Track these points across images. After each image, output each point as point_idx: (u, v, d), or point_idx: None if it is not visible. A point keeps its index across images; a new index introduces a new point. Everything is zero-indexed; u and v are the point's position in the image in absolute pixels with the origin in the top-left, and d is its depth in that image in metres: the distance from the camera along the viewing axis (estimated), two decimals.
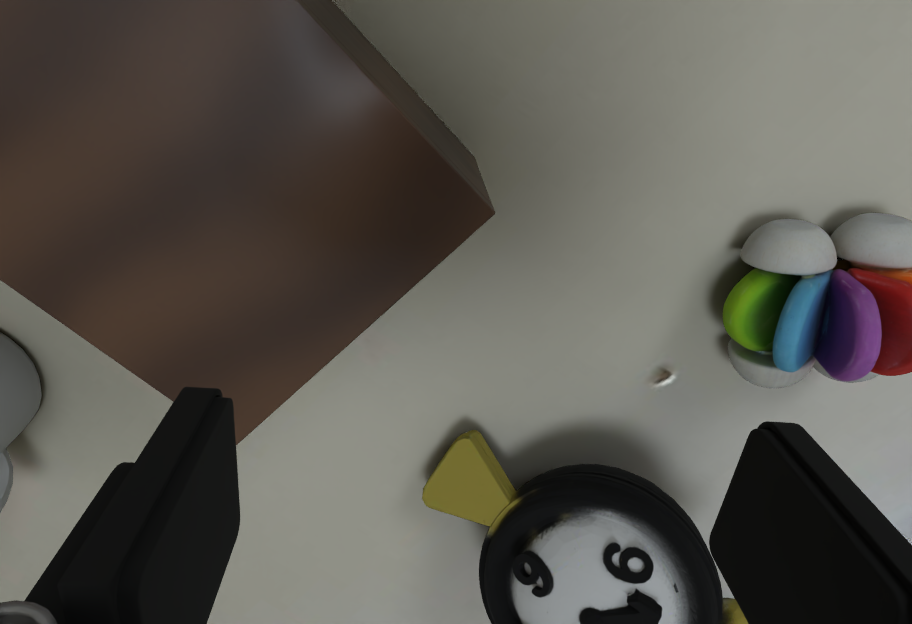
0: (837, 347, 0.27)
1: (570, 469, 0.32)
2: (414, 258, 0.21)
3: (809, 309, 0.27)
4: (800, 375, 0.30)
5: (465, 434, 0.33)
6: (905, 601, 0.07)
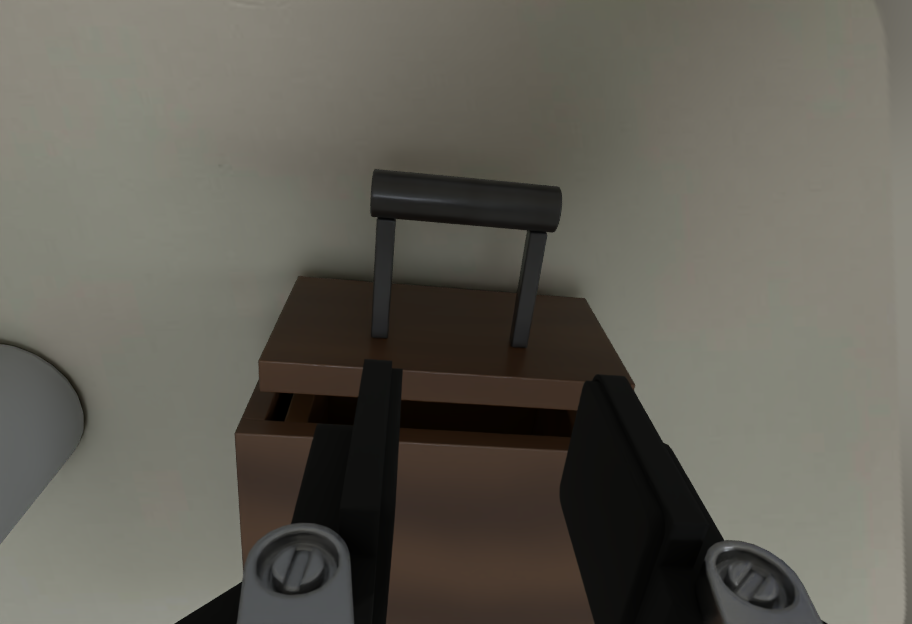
0: None
1: None
2: None
3: None
4: None
5: None
6: (657, 518, 0.08)
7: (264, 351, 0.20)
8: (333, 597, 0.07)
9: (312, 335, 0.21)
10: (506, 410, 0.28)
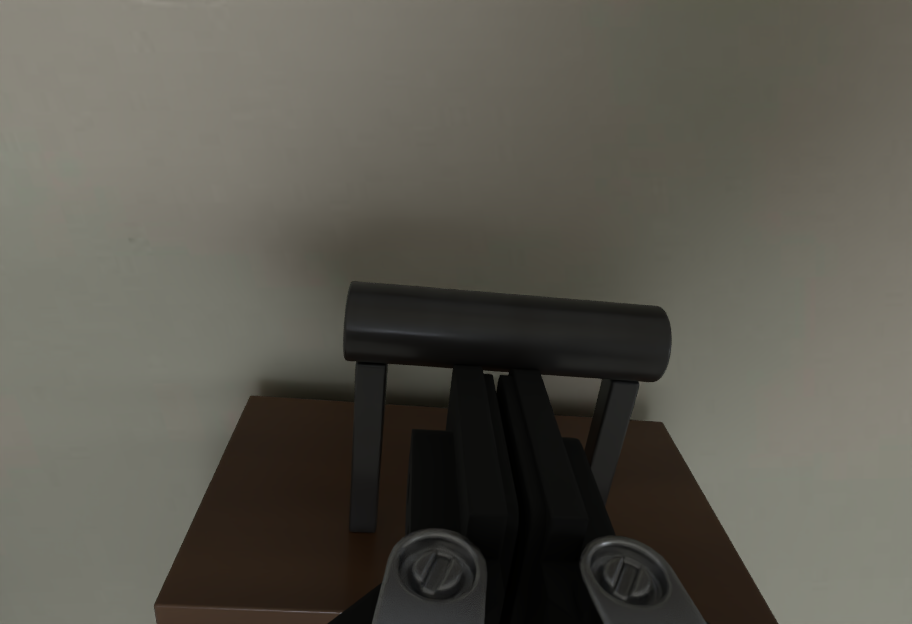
0: None
1: None
2: None
3: None
4: None
5: None
6: (540, 512, 0.08)
7: (168, 579, 0.12)
8: (466, 610, 0.07)
9: (255, 530, 0.13)
10: None
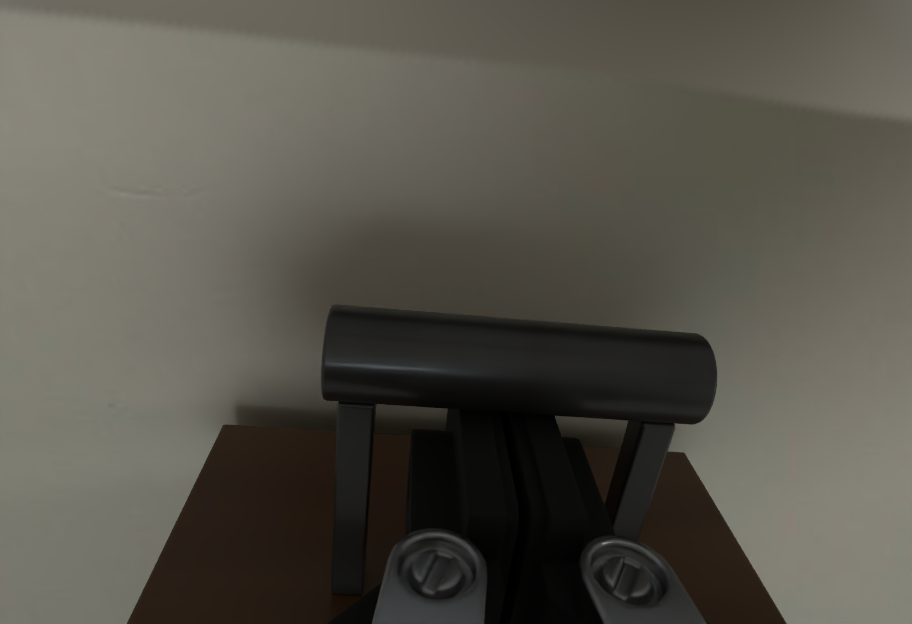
0: None
1: None
2: None
3: None
4: None
5: None
6: (540, 512, 0.08)
7: None
8: (466, 609, 0.07)
9: (220, 594, 0.11)
10: None
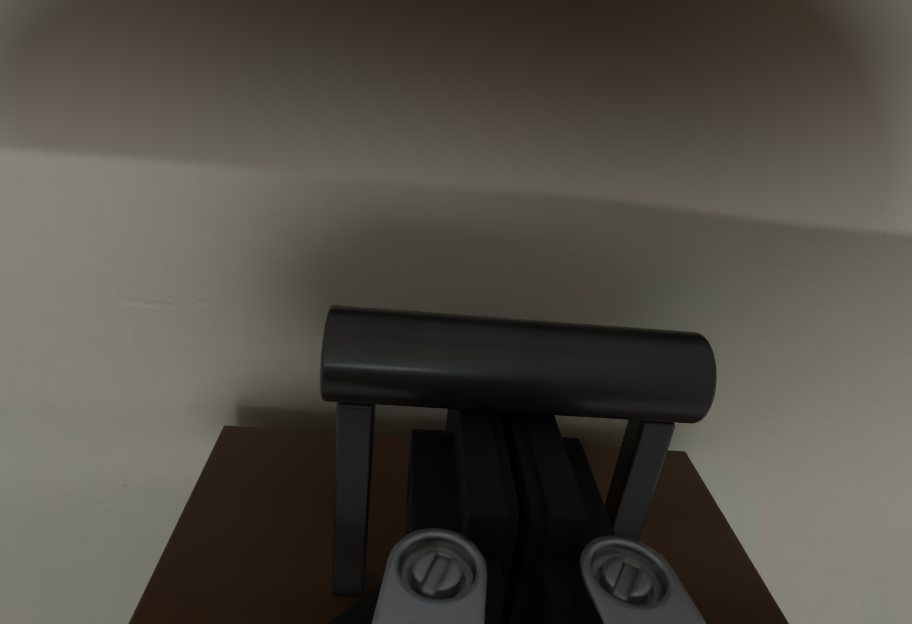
0: None
1: None
2: None
3: None
4: None
5: None
6: (539, 512, 0.08)
7: None
8: (465, 610, 0.07)
9: (221, 595, 0.11)
10: None
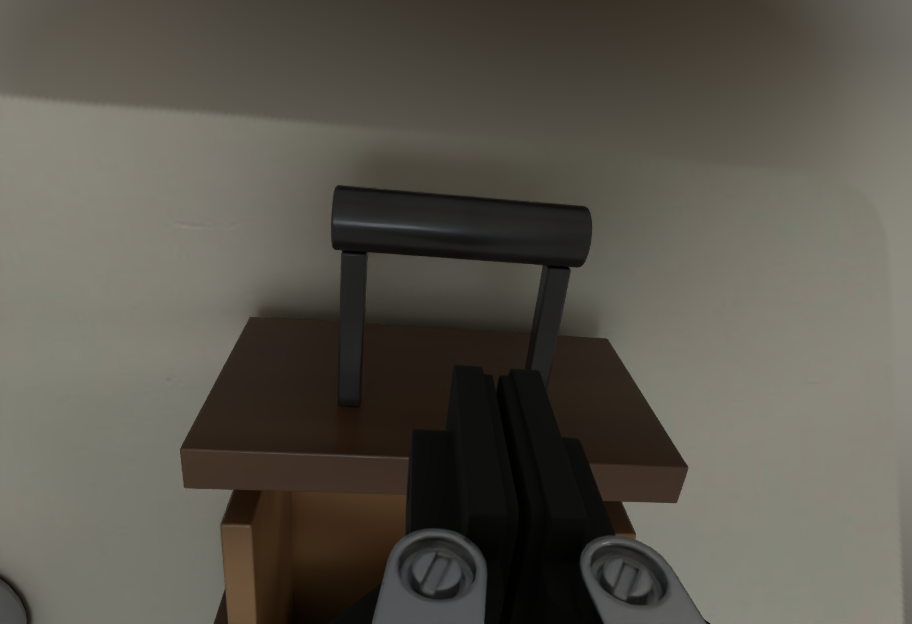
0: None
1: None
2: None
3: None
4: None
5: None
6: (539, 512, 0.08)
7: (190, 433, 0.15)
8: (465, 609, 0.07)
9: (260, 405, 0.16)
10: None
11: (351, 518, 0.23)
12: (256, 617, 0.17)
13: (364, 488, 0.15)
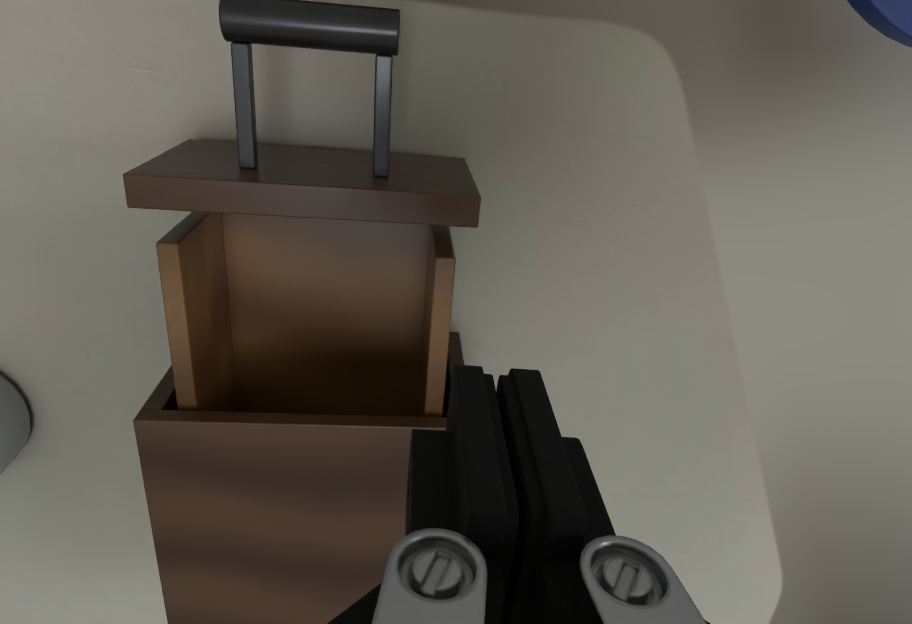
0: None
1: None
2: None
3: None
4: None
5: None
6: (539, 512, 0.08)
7: (131, 170, 0.21)
8: (466, 609, 0.07)
9: (183, 165, 0.23)
10: (397, 271, 0.29)
11: (276, 310, 0.30)
12: (187, 328, 0.24)
13: (252, 209, 0.22)
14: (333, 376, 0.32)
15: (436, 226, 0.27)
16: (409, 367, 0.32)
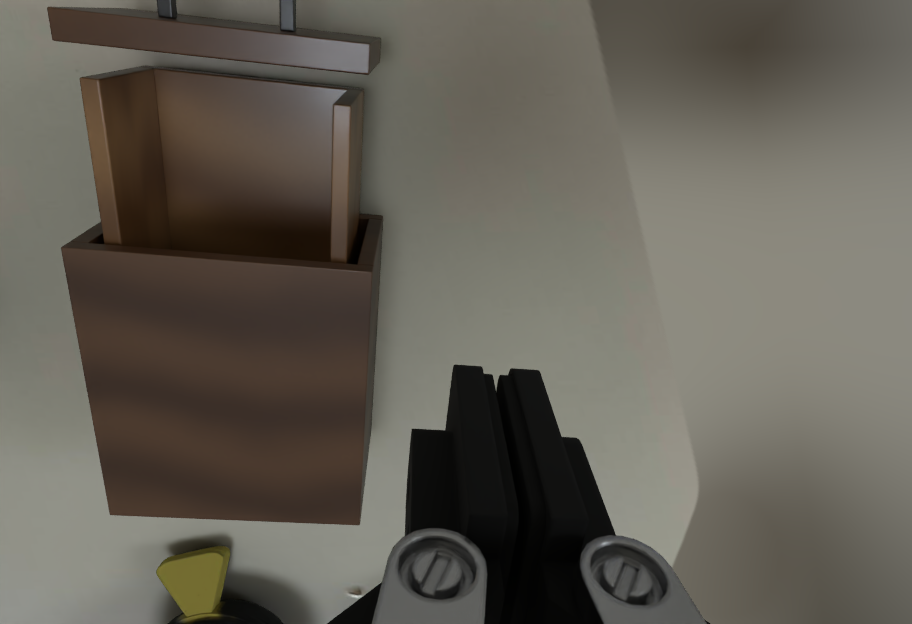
0: None
1: (263, 615, 0.45)
2: (304, 513, 0.34)
3: None
4: None
5: (222, 550, 0.45)
6: (540, 512, 0.08)
7: None
8: (466, 610, 0.07)
9: (107, 11, 0.25)
10: (318, 144, 0.32)
11: (207, 178, 0.32)
12: (111, 164, 0.26)
13: (164, 47, 0.24)
14: (262, 247, 0.34)
15: (347, 93, 0.29)
16: None
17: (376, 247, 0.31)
